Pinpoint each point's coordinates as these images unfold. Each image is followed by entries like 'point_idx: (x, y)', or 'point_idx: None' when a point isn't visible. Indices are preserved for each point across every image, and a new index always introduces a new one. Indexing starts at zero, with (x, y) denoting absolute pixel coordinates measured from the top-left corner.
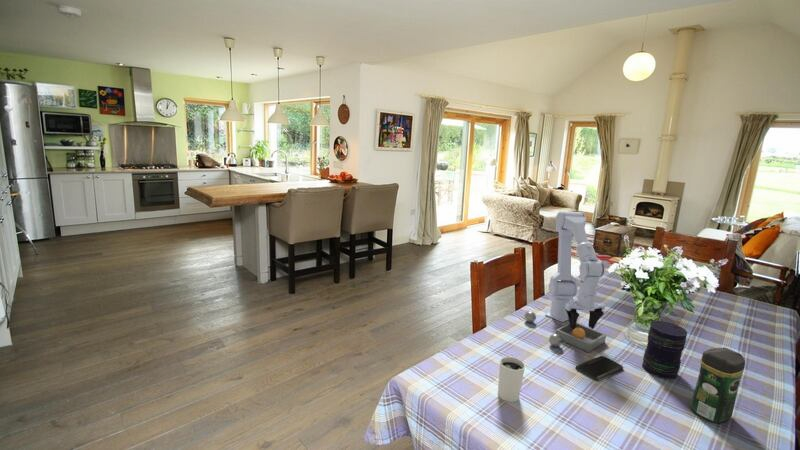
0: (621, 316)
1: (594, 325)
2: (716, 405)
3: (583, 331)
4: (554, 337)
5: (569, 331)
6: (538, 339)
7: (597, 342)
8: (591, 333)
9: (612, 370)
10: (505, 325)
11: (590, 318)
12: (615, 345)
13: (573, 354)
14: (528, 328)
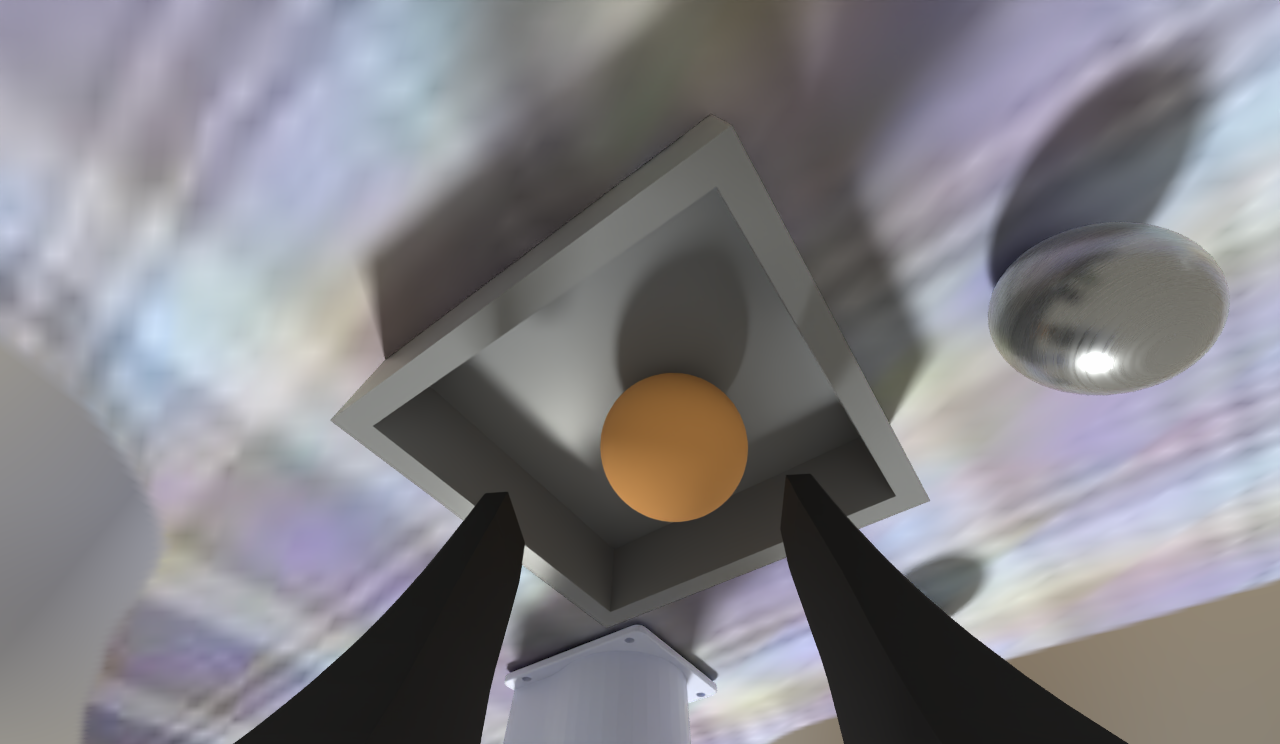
0: (140, 682)
1: (466, 531)
2: None
3: (646, 450)
4: (1225, 303)
5: None
6: (1088, 402)
7: (514, 276)
8: (489, 473)
9: None
10: (1161, 583)
11: (485, 659)
12: (275, 308)
13: (959, 67)
14: (1001, 553)
